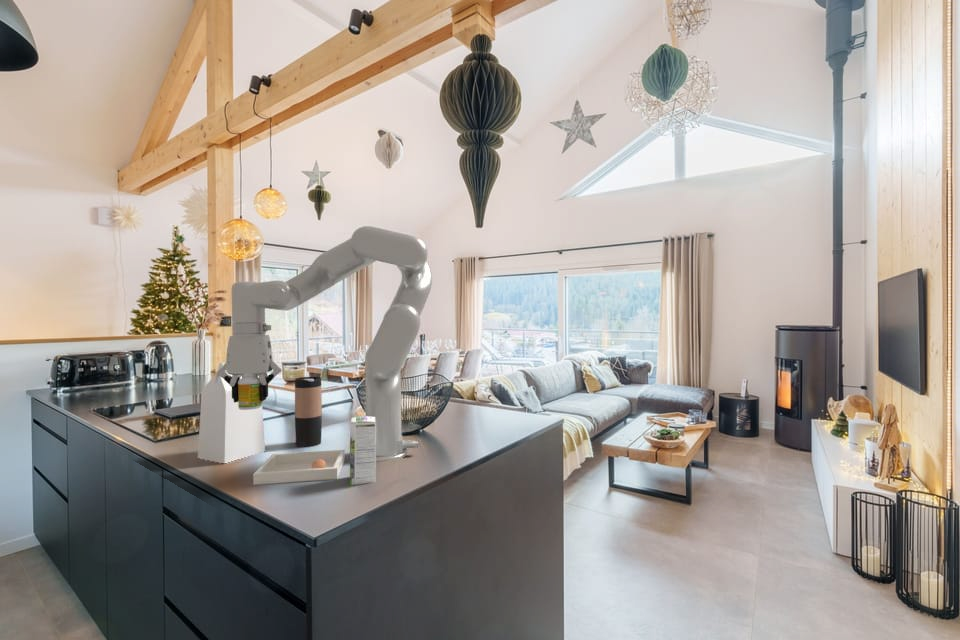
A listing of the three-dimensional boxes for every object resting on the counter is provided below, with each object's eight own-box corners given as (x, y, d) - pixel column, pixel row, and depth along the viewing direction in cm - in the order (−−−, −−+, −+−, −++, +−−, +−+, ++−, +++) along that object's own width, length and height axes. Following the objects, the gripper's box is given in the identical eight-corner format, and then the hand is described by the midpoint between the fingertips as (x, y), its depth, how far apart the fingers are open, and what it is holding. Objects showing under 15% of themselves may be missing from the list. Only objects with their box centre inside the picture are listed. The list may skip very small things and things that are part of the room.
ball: (326, 469, 107) (326, 456, 107) (324, 474, 104) (324, 460, 104) (313, 470, 106) (313, 457, 106) (310, 475, 103) (310, 461, 103)
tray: (345, 461, 115) (345, 449, 115) (337, 481, 100) (337, 468, 100) (272, 465, 112) (272, 454, 112) (253, 487, 97) (253, 474, 97)
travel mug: (303, 440, 136) (303, 376, 136) (326, 440, 135) (326, 376, 135) (289, 447, 129) (289, 379, 129) (314, 447, 128) (313, 380, 128)
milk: (238, 447, 130) (238, 359, 130) (265, 451, 125) (264, 361, 125) (197, 458, 119) (197, 363, 119) (224, 464, 114) (224, 365, 114)
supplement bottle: (252, 410, 108) (251, 371, 108) (233, 410, 109) (232, 371, 109) (266, 406, 113) (266, 369, 113) (248, 405, 114) (248, 368, 114)
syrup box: (350, 478, 102) (349, 417, 102) (376, 476, 104) (375, 415, 104) (349, 487, 96) (349, 422, 97) (377, 484, 98) (376, 420, 98)
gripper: (288, 329, 117) (289, 396, 116) (218, 330, 114) (220, 400, 113) (280, 329, 109) (281, 401, 109) (205, 331, 106) (207, 405, 106)
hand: (250, 400), depth 111 cm, fingers closed on supplement bottle, 5 cm apart
